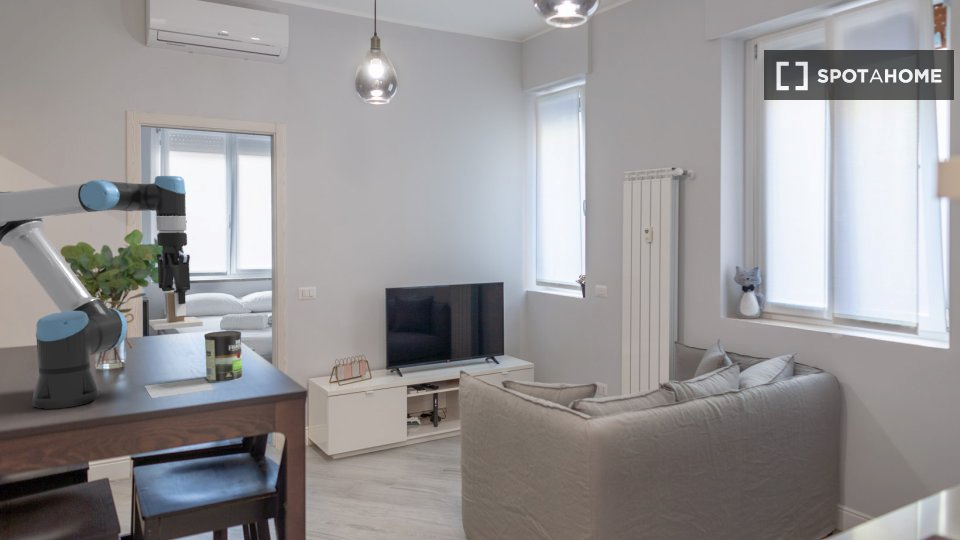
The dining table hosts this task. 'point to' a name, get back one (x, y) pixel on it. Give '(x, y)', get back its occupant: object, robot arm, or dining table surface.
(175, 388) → the mat
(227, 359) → the coffee can
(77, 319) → the robot arm
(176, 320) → the square plate with block
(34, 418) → the dining table surface
